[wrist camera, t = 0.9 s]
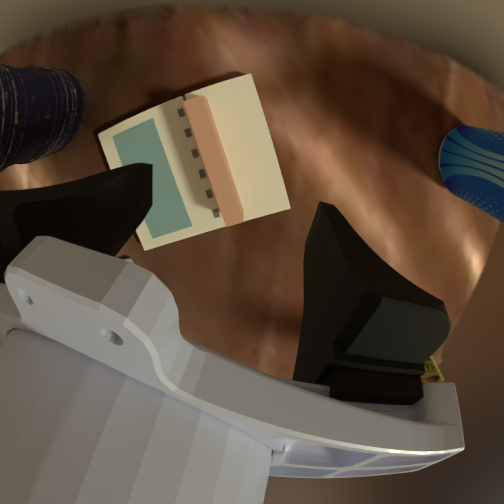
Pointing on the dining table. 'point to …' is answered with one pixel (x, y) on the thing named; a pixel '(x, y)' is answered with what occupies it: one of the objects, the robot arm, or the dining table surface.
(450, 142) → the beer can
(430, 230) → the dining table surface
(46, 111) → the storage jar
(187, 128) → the cream teal notepad
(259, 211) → the cream and brown block
